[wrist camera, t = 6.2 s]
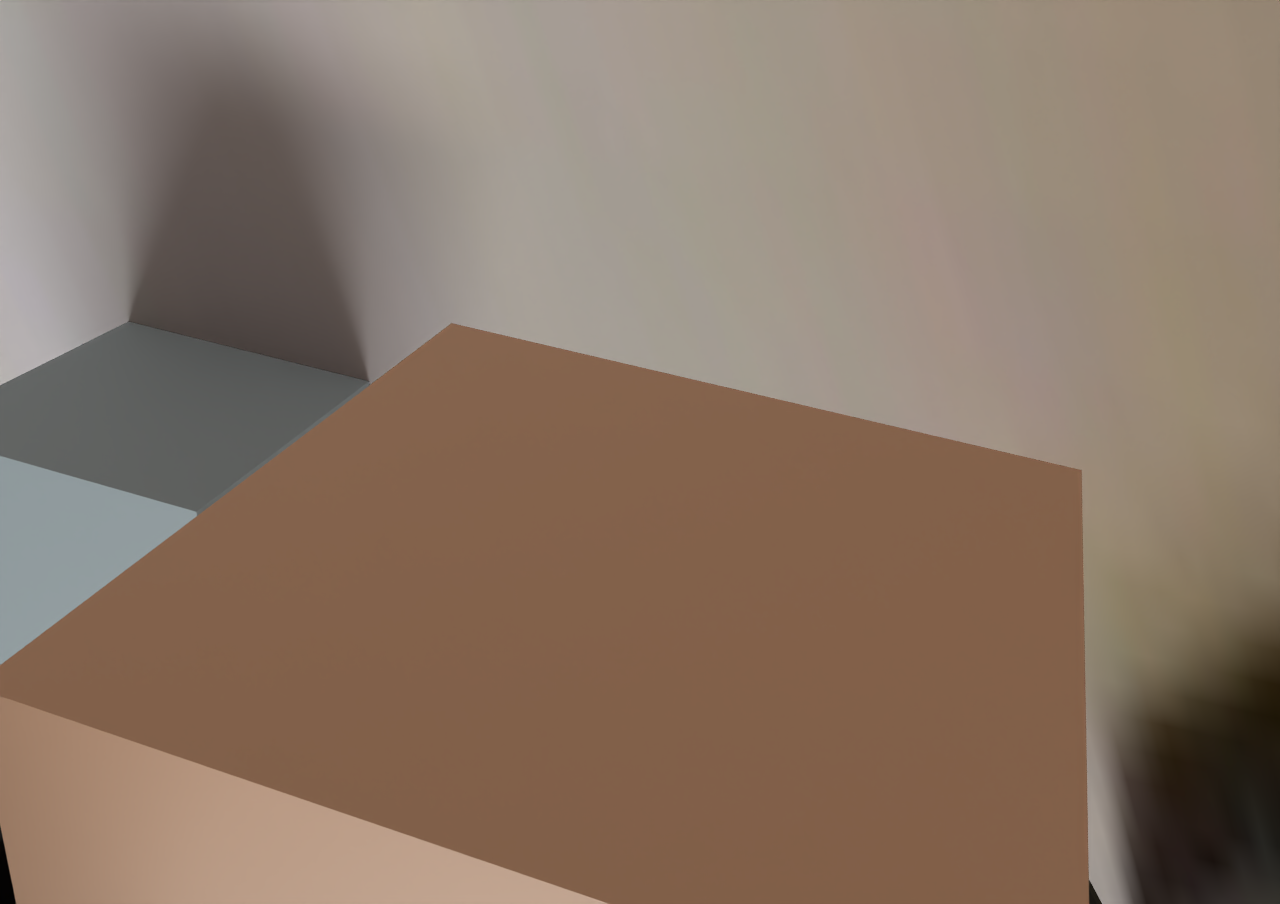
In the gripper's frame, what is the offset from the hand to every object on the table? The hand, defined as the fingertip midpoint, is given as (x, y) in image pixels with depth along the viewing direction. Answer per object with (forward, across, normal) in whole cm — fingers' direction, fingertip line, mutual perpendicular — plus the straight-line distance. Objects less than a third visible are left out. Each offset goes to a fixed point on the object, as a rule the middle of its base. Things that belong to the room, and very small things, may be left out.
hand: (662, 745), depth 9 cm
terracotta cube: (+1, 0, 0) cm, 1 cm away
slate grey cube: (+10, +11, +6) cm, 16 cm away
